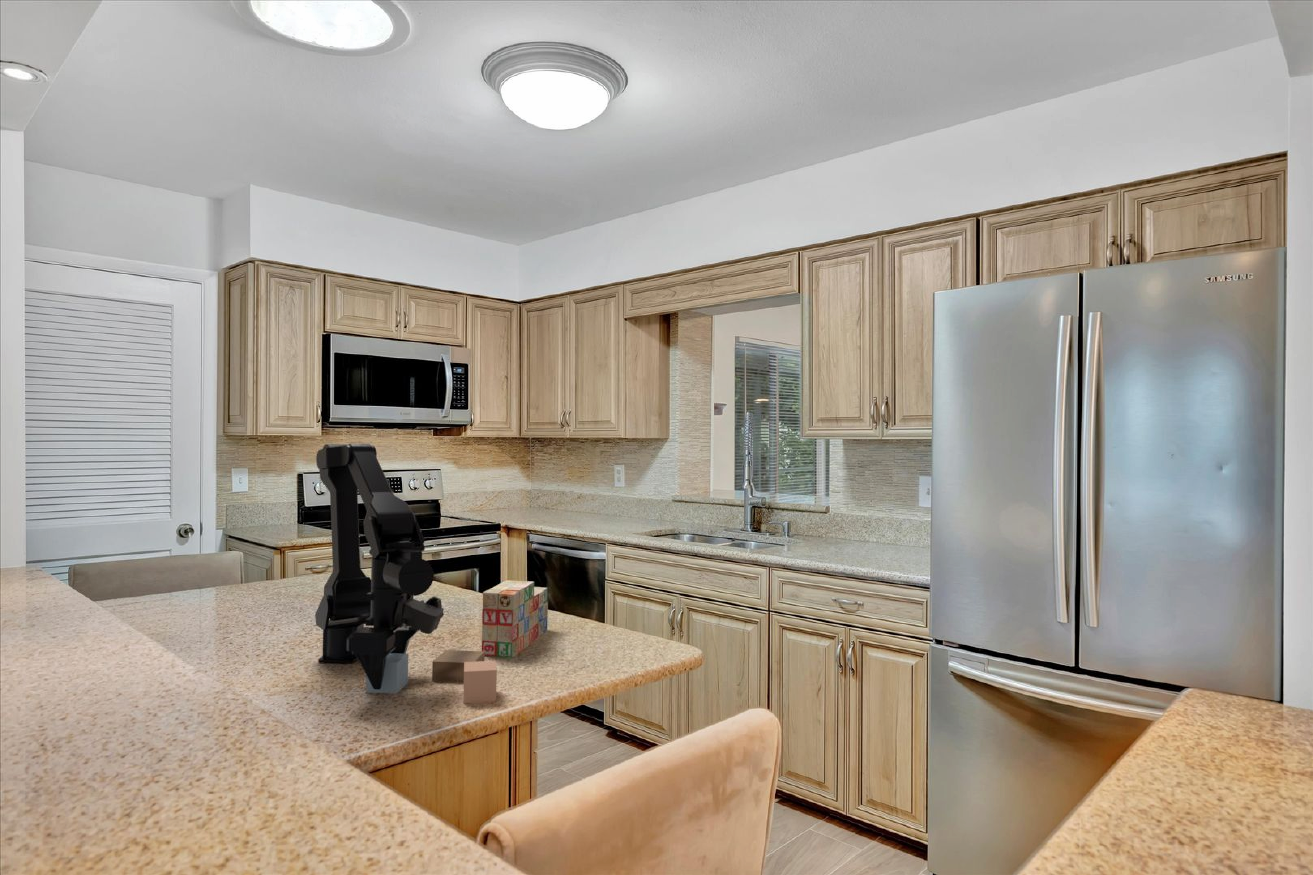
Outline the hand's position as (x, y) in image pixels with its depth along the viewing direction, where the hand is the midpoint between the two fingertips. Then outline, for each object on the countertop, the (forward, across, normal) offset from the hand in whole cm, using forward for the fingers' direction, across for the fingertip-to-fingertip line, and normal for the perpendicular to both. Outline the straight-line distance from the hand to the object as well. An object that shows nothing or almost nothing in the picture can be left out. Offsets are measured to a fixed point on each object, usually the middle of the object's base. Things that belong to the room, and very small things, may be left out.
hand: (387, 680), depth 123 cm
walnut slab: (+1, +8, -10) cm, 12 cm away
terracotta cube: (+1, -3, -16) cm, 16 cm away
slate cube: (+1, 0, 0) cm, 1 cm away
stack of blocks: (+2, +29, -15) cm, 33 cm away
